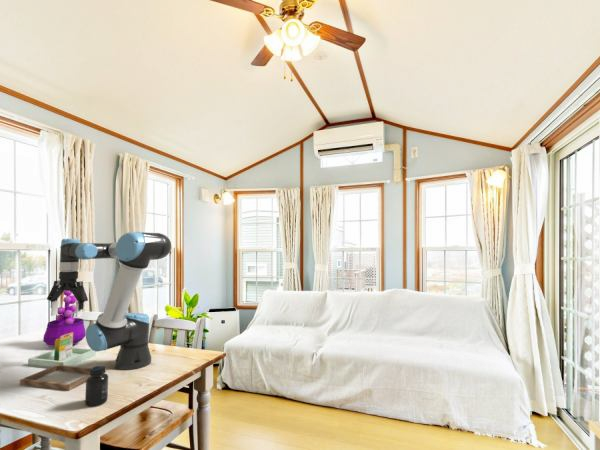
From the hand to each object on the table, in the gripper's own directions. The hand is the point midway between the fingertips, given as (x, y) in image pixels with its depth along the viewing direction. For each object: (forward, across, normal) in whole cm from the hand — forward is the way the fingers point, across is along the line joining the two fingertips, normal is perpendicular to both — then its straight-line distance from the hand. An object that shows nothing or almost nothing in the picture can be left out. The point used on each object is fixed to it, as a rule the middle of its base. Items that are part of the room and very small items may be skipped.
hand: (66, 315), depth 158 cm
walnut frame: (+21, -18, +18) cm, 33 cm away
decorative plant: (+21, +20, -20) cm, 35 cm away
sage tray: (+21, 0, 0) cm, 21 cm away
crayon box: (+20, 0, 0) cm, 20 cm away
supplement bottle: (+22, -46, +32) cm, 60 cm away
